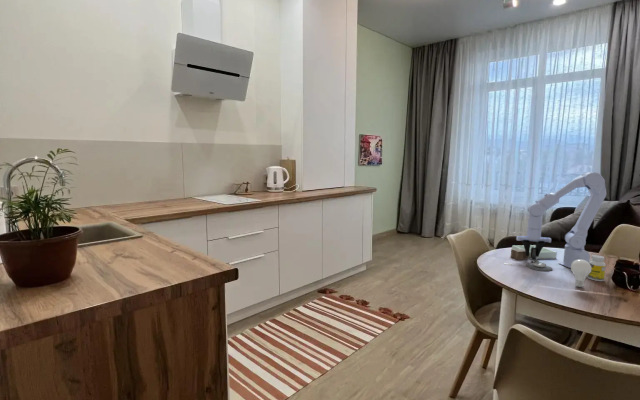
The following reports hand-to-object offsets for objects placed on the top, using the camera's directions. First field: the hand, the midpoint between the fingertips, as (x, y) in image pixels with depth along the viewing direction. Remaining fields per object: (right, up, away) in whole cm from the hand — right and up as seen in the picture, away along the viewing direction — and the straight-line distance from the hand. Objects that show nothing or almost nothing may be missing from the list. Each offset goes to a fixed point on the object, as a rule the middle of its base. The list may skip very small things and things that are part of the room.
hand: (532, 255), depth 166 cm
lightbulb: (-3, -7, -33) cm, 34 cm away
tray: (+8, -2, +12) cm, 14 cm away
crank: (-1, -3, -5) cm, 6 cm away
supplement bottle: (+12, -6, -24) cm, 27 cm away
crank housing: (-7, -4, -8) cm, 11 cm away
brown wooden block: (0, 0, +6) cm, 6 cm away
